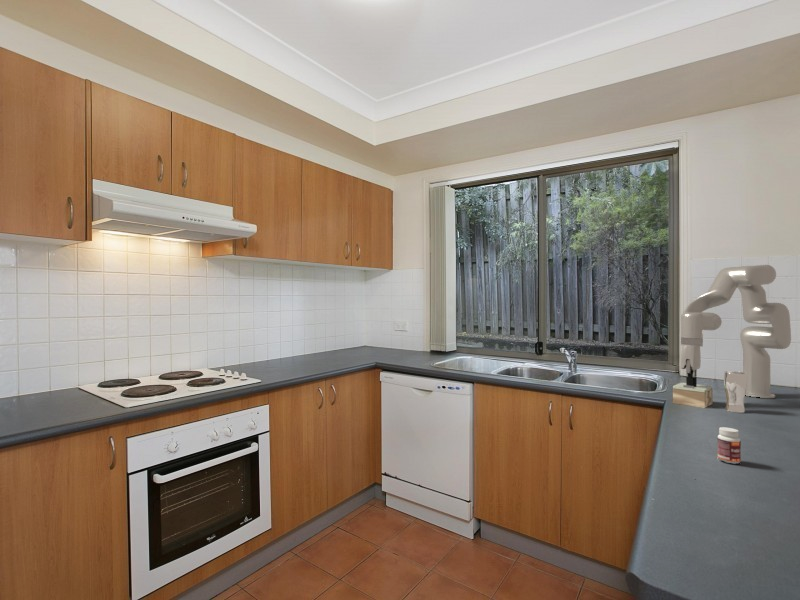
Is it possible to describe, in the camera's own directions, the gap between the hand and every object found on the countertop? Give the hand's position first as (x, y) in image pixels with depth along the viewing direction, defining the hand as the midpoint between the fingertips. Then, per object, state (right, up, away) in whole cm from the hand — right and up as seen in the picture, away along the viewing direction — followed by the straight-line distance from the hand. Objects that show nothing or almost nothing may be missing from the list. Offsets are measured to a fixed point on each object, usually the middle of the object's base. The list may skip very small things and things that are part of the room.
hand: (691, 386), depth 174 cm
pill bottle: (-36, -6, -65) cm, 75 cm away
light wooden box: (+1, -7, +1) cm, 7 cm away
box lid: (+1, -1, +1) cm, 2 cm away
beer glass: (+9, -7, -12) cm, 16 cm away
